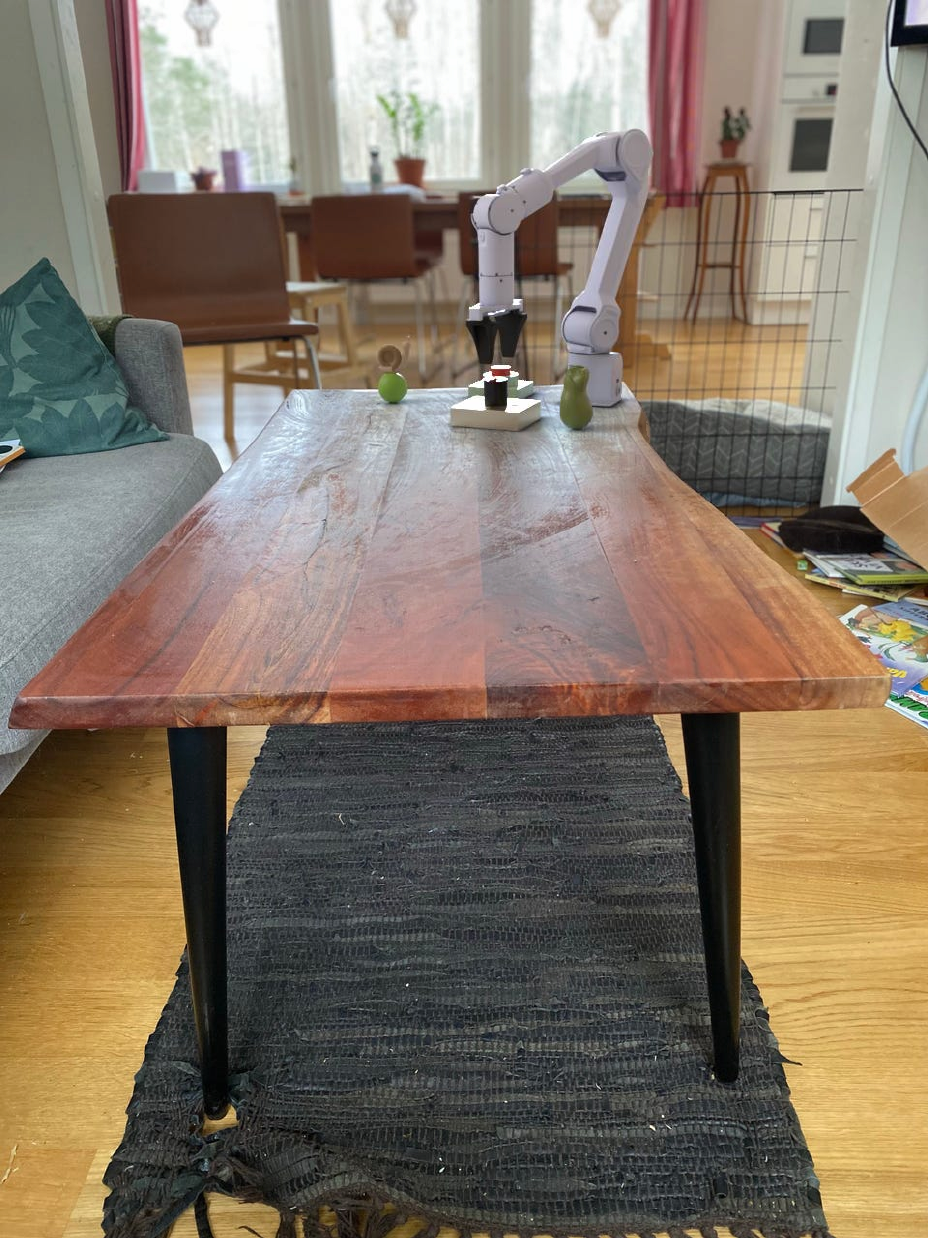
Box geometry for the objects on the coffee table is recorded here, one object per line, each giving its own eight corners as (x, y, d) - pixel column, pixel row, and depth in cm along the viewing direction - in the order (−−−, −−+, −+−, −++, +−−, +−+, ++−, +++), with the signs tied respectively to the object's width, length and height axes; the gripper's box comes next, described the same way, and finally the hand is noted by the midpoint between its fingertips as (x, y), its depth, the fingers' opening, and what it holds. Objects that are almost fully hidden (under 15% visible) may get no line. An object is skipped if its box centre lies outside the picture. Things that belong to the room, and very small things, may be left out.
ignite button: (513, 375, 176) (513, 365, 175) (506, 378, 173) (506, 368, 172) (495, 374, 177) (495, 364, 176) (488, 377, 174) (488, 367, 173)
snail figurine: (409, 405, 170) (405, 337, 165) (375, 404, 171) (371, 337, 166) (416, 399, 175) (413, 333, 170) (383, 399, 176) (379, 332, 171)
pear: (563, 423, 154) (564, 361, 149) (595, 425, 152) (597, 362, 148) (555, 431, 149) (557, 367, 145) (588, 432, 147) (590, 368, 143)
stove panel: (540, 418, 158) (540, 399, 156) (518, 431, 149) (518, 411, 148) (475, 413, 162) (475, 395, 161) (450, 425, 154) (450, 406, 153)
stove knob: (489, 400, 157) (489, 374, 155) (511, 402, 156) (511, 375, 154) (479, 405, 154) (479, 378, 152) (502, 406, 152) (501, 379, 150)
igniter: (533, 393, 178) (533, 371, 176) (517, 401, 171) (517, 379, 169) (485, 390, 182) (485, 369, 180) (468, 397, 175) (467, 376, 173)
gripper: (495, 279, 145) (496, 368, 150) (538, 271, 156) (538, 355, 162) (457, 278, 148) (459, 365, 154) (502, 271, 159) (502, 353, 165)
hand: (497, 360), depth 158 cm, fingers open, 7 cm apart
